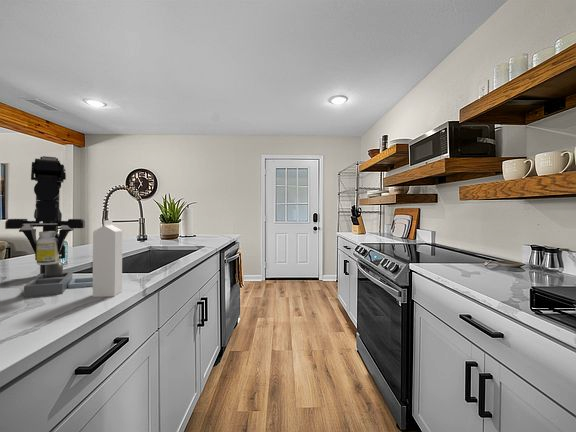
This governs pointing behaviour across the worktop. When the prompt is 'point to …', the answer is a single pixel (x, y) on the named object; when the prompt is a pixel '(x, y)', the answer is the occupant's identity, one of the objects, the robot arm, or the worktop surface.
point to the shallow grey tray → (49, 281)
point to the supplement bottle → (47, 248)
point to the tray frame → (73, 284)
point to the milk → (107, 260)
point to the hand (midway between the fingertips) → (47, 252)
